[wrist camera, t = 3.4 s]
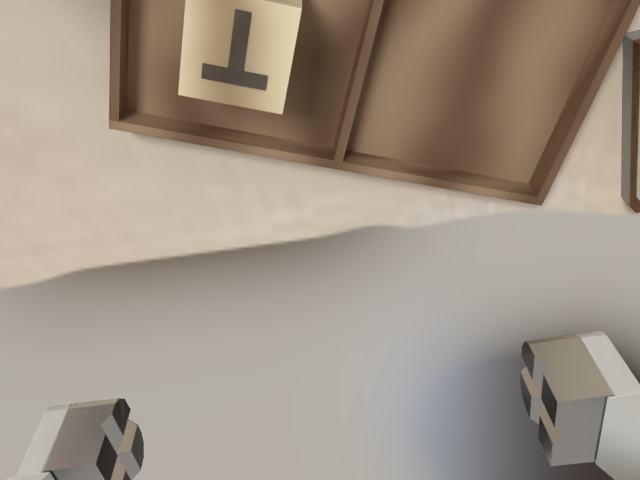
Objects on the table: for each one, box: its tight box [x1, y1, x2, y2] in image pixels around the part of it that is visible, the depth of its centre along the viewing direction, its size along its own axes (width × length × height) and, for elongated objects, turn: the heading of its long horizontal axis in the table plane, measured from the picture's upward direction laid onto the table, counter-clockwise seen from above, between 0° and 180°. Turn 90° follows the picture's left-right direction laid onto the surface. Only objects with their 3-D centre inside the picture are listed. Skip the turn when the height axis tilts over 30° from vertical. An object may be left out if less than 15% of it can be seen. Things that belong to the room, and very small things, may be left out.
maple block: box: [178, 0, 302, 114], centre depth 29 cm, size 5×5×5 cm
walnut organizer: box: [109, 0, 640, 206], centre depth 31 cm, size 26×13×2 cm, turn 78°
